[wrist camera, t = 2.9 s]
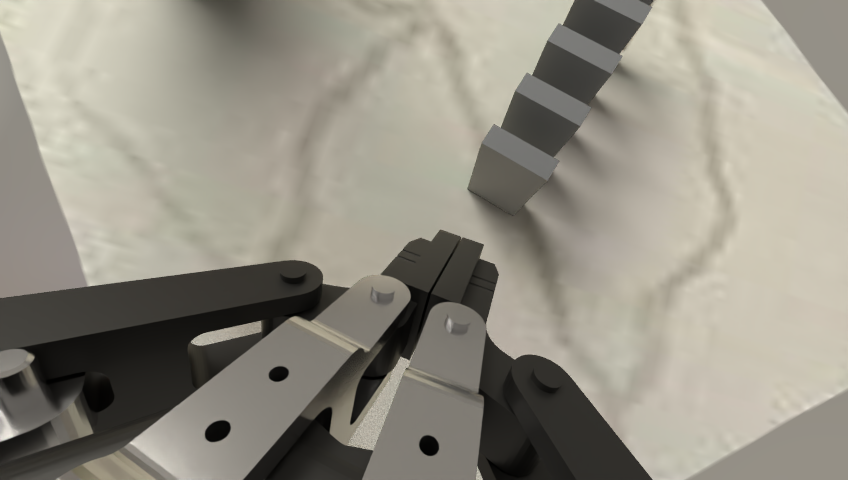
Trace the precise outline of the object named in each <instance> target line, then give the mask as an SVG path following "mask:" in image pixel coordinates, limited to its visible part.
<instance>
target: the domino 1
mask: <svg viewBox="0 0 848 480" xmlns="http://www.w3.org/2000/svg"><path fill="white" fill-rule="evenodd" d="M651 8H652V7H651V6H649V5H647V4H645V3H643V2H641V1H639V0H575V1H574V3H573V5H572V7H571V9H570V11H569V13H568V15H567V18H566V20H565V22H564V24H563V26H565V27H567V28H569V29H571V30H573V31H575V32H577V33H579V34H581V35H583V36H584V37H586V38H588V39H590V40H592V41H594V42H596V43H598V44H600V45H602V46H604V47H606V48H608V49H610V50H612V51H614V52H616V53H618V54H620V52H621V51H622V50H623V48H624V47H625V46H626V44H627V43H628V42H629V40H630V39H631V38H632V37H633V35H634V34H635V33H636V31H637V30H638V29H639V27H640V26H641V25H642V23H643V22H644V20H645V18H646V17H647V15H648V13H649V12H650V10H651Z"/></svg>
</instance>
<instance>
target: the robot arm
mask: <svg viewBox="0 0 848 480" xmlns="http://www.w3.org/2000/svg"><path fill="white" fill-rule="evenodd" d="M483 246H484V245H483V244H480V243H478V242H475V241H472V240H469V239H466V238H462V240H461V237H460V236H457V235H454V234H452V233H449V232H446V231H443V230H440V231H439V232H438V233H437V235H436V236H435V237H434V239H433V240H432V241H428V240H425V239H422V238H419V239H416V240H414V241H411V242H409V243H408V244H407V245H406V246H405V248H404V249H403V251H401V252H400V253H399V254H398V256H397V257H396V258H395V259H394V260H393V261H392V262H391V263H390V264H389V266H388V267H387V268H386V269H385V270H384V271H383V272H382V274H381V275H371V276H367V277H364V278H362V279H361V280H359V281H358V282H357V283H356V284H354V285H353V286H352V287H351V288H345V287H338V286H332V285H325V284H323V274H322V272H321V271H320V269H318V268H317V267H316V266H314V265H312V264H310V263H307V262H303V261H296V260H289V261H280V262H273V263H265V264H257V265H250V266H242V267H235V268H227V269H219V270H212V271H204V272H197V273H189V274H181V275H174V276H166V277H159V278H151V279H143V280H136V281H128V282H120V283H113V284H105V285H98V286H90V287H83V288H75V289H67V290H60V291H52V292H44V293H37V294H30V295H22V296H14V297H6V298H0V480H476V472H477V466H478V469H479V471H480V473H481V475H482V478H483V480H652V478H651V477H650V476H649V475H648V473H647V472H646V471H645V470H644V468H643V467H642V466H641V465H640V463H639V462H638V461H637V460H636V458H635V457H634V456H633V455H632V453H631V452H630V451H629V450H628V448H627V447H626V446H625V445H624V443H623V442H622V441H621V440H620V438H619V437H618V436H617V435H616V433H615V432H614V431H613V430H612V428H611V427H610V426H609V425H608V423H607V422H606V421H605V420H604V418H603V417H602V416H601V415H600V413H599V412H598V411H597V410H596V408H595V407H594V406H593V405H592V403H591V402H590V401H589V400H588V398H587V397H586V396H585V395H584V393H583V392H582V391H581V390H580V388H579V387H578V386H577V385H576V383H575V382H574V381H573V380H572V378H571V377H570V376H569V375H568V374H567V373H566V372H565V371H564V370H563V369H562V368H561V367H560V366H558V365H557V364H555V363H554V362H552V361H550V360H548V359H546V358H543V357H541V356H537V355H523V356H520V357H518V358H517V359H516V360H514V359H513V358H511V357H510V356H508V355H507V354H505V353H504V352H503V351H501V350H500V349H499V348H498V347H497V346H496V345H495V344H494V343H493V342H492V340H491V339H490V337H489V336H488V333H487V330H486V321H487V317H488V314H489V310H490V306H491V302H492V298H493V295H494V291H495V287H496V283H497V279H498V276H499V274H498V271H497V269H496V267H495V264H493V263H490V262H487V261H484V260H481V259H479V258H480V255H481V252H482V249H483ZM256 321H261V332H260V333H256V334H252V335H248V336H243V337H239V338H235V339H231V340H226V341H222V342H218V343H214V344H209V345H204V346H197V345H194V344H192V343H190V342H191V341H192V340H193V339H194V338H195V337H197V336H198V335H200V334H203V333H206V332H210V331H215V330H220V329H224V328H229V327H233V326H238V325H243V324H247V323H252V322H256ZM414 350H415V352H414ZM413 352H414V354H413ZM412 354H413V357H412V359H411V362H410V365H409V367H408V368H406V370H405V372H404V374H403V376H402V379H401V382H400V384H399V387H398V389H397V392H396V394H395V397H394V399H393V402H392V405H391V407H390V410H389V412H388V415H387V417H386V420H385V422H384V425H383V427H382V430H381V433H380V435H379V438H378V440H377V443H376V445H375V448H374V450H373V451H372V450H367V449H362V448H357V447H351V446H347V445H348V443H349V441H350V439H351V437H352V436H353V434H354V432H355V431H356V429H357V428H358V426H359V425H360V423H361V422H362V420H363V419H364V417H365V416H366V414H367V413H368V411H369V410H370V408H371V407H372V405H373V404H374V402H375V400H376V399H377V397H378V396H379V394H380V393H381V391H382V390H383V388H384V387H385V385H386V384H387V382H388V381H389V379H390V377H391V373H392V370H393V369H394V367H395V366H396V364H397V362H398V360H399V358H400V357H403V358H406V359H408V360H410V358H411V356H412Z"/></svg>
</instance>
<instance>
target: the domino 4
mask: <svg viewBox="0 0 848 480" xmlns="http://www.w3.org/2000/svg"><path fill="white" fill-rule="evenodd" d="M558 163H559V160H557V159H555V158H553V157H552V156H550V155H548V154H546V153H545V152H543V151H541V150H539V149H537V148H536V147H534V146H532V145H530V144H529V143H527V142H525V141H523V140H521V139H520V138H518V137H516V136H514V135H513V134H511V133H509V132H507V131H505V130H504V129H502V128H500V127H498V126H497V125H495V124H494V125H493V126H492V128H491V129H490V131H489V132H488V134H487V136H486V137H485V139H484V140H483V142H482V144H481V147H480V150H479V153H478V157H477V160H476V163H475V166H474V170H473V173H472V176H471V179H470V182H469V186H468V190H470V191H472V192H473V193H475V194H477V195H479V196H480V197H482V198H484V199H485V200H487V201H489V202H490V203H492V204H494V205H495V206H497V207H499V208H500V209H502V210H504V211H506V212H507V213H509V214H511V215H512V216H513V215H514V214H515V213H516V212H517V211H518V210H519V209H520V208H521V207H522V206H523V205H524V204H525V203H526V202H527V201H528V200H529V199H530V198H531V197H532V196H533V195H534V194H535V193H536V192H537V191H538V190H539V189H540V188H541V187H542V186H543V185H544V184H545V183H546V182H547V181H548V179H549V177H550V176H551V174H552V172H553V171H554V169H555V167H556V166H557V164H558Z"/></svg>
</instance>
